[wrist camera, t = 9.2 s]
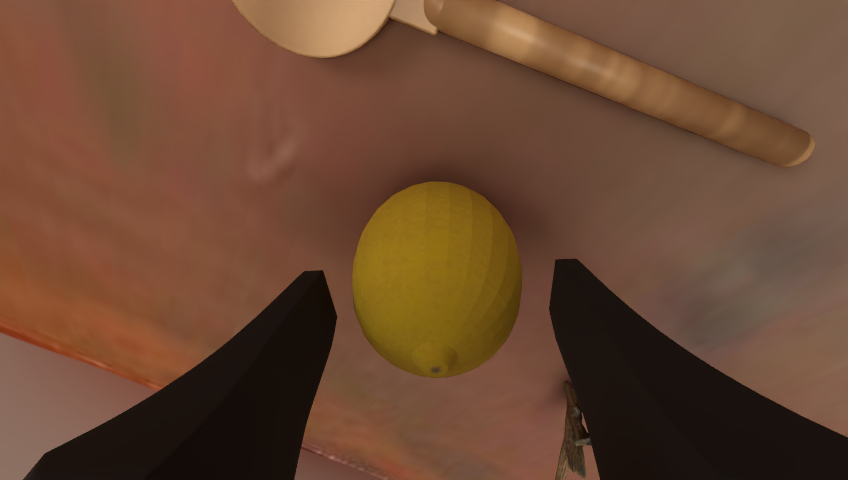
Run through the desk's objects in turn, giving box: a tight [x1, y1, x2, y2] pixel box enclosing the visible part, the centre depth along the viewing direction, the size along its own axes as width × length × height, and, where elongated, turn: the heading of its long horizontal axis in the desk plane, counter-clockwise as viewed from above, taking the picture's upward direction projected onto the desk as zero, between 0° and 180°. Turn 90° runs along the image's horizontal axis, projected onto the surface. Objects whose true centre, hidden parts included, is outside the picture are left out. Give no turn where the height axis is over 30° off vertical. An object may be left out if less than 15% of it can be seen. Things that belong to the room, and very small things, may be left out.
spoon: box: [232, 0, 815, 167], centre depth 12 cm, size 20×5×1 cm, turn 71°
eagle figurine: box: [555, 382, 592, 480], centre depth 20 cm, size 8×7×9 cm
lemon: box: [352, 182, 522, 378], centre depth 13 cm, size 6×6×8 cm
